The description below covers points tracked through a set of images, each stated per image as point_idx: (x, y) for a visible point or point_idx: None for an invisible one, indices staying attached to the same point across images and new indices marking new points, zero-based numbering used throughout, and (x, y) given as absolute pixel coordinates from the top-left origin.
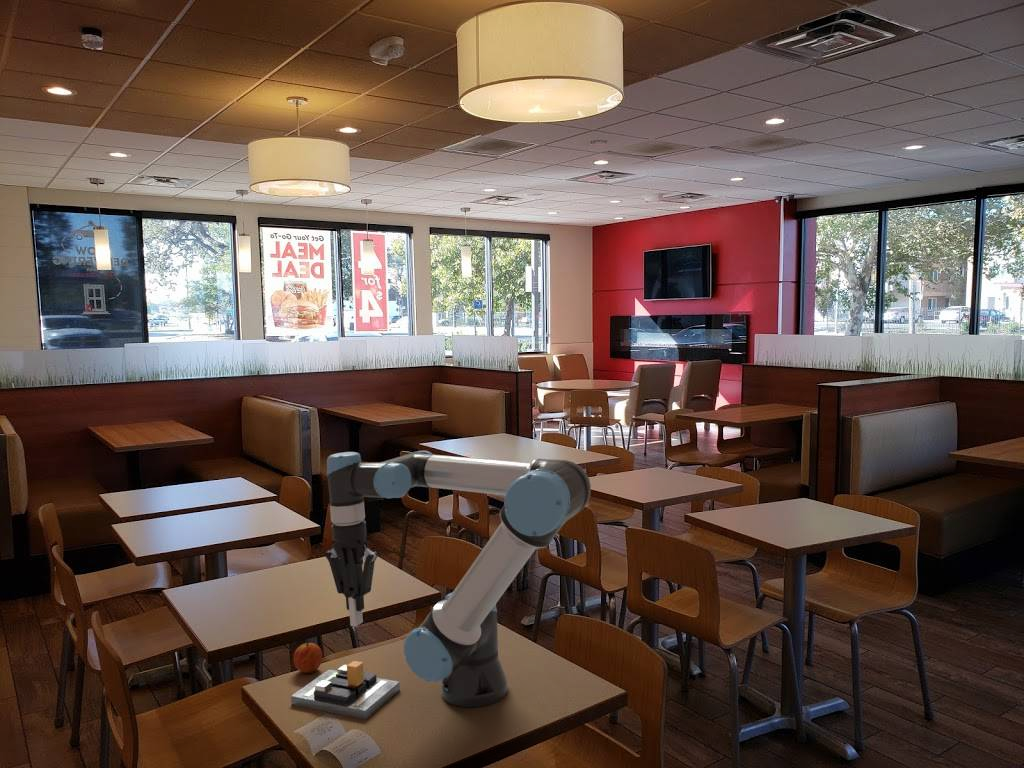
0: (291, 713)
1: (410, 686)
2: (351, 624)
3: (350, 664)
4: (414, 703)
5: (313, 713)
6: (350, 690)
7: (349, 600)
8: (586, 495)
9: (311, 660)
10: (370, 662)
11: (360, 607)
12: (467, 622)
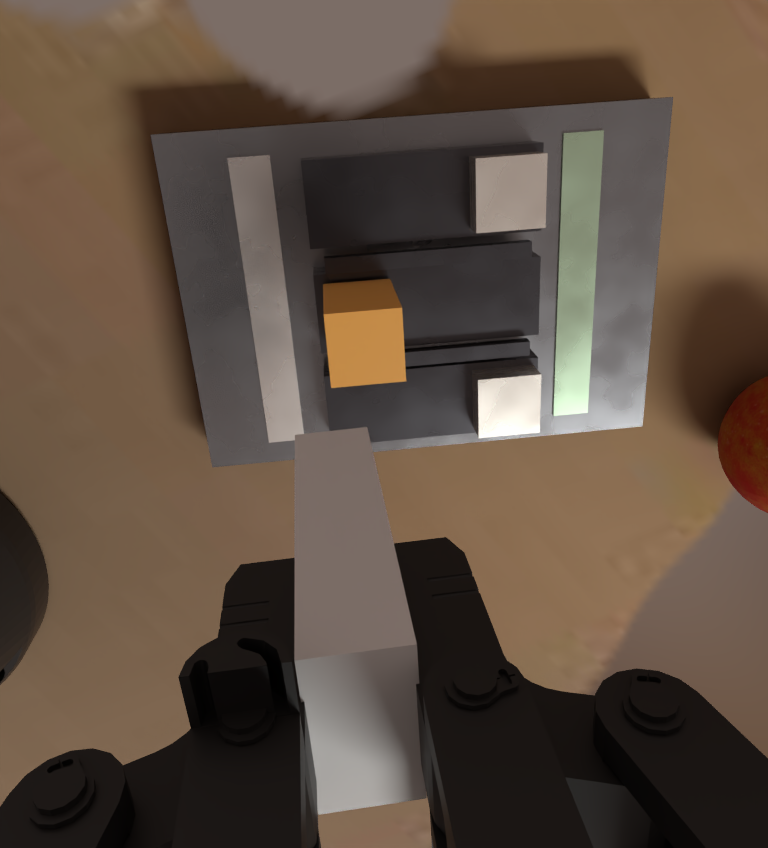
0: (592, 12)
1: (196, 493)
2: (356, 437)
3: (389, 331)
4: (57, 374)
5: (474, 67)
6: (339, 239)
7: (387, 614)
8: None
9: (759, 414)
10: (522, 589)
11: (224, 598)
12: None
